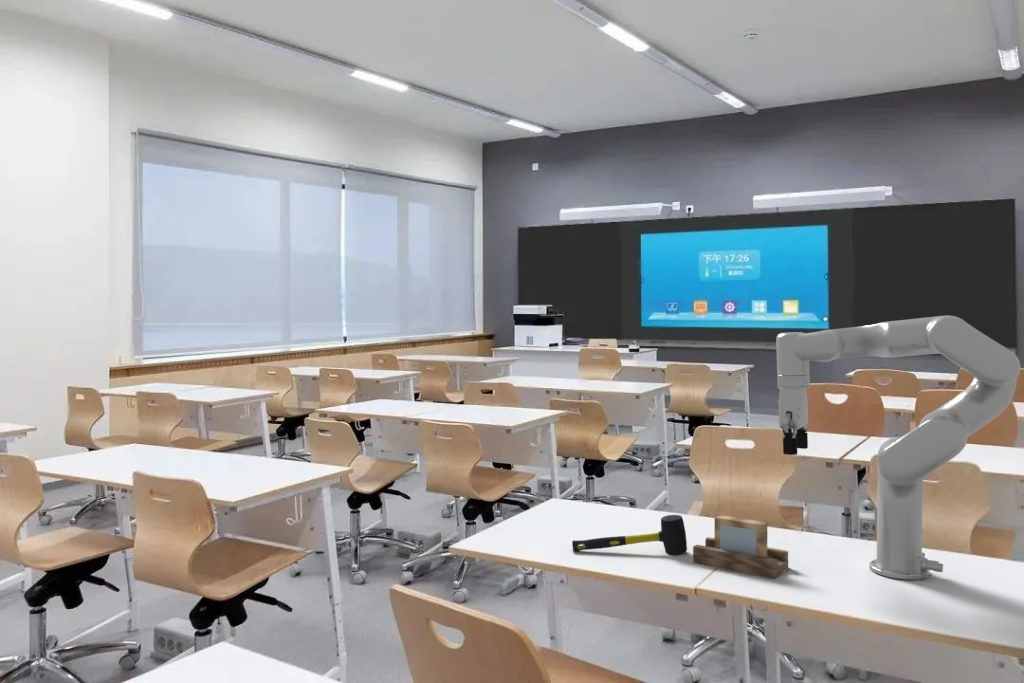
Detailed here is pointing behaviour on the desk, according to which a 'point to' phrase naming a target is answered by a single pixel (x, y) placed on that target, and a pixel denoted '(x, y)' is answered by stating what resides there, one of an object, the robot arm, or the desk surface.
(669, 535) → the mallet
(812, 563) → the desk surface
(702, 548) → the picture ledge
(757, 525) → the wooden picture frame
